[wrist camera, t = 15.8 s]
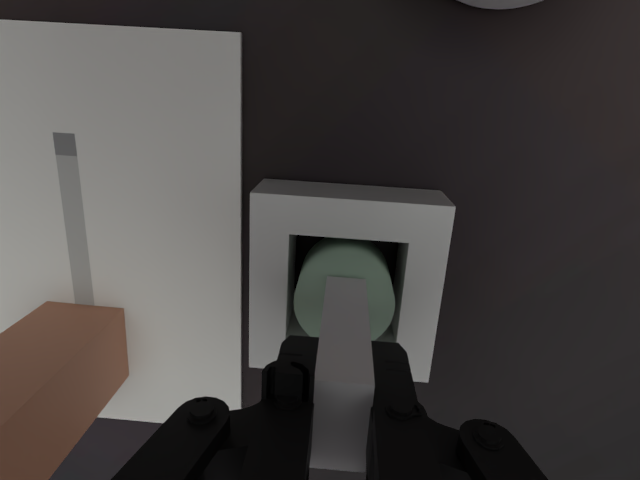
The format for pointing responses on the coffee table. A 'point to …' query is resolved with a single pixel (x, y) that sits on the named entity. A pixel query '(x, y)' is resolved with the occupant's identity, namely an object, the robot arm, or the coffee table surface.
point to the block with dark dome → (56, 383)
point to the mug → (499, 3)
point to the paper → (128, 197)
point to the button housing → (352, 223)
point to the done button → (350, 263)
